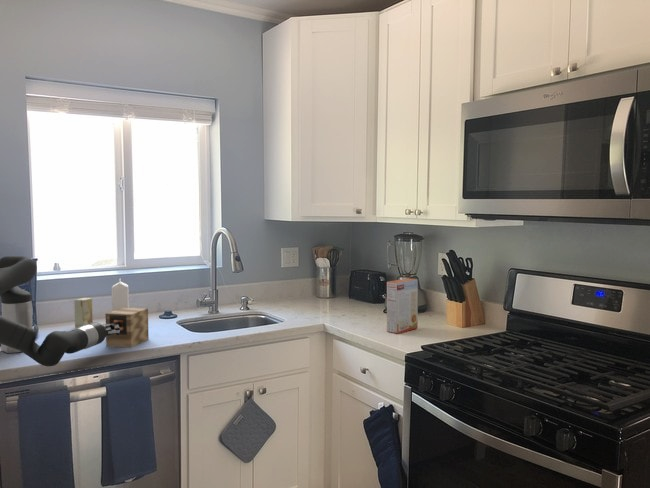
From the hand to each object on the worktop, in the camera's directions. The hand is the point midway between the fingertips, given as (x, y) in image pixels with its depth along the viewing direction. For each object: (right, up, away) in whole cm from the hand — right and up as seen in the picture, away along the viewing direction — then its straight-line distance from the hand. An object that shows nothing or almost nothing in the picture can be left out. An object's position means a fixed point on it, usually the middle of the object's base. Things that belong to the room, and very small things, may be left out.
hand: (118, 324), depth 196 cm
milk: (-7, -7, +22) cm, 24 cm away
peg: (+1, -1, +6) cm, 6 cm away
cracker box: (+107, -7, +27) cm, 110 cm away
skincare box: (-26, -6, +31) cm, 41 cm away
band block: (+1, -8, +6) cm, 10 cm away
